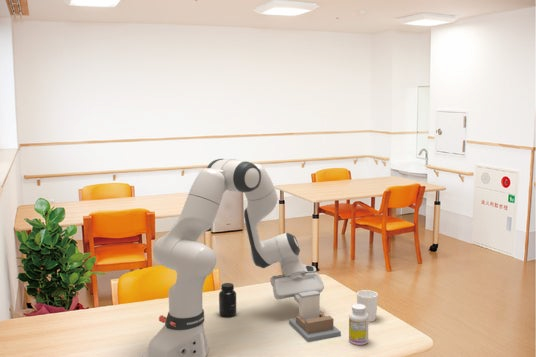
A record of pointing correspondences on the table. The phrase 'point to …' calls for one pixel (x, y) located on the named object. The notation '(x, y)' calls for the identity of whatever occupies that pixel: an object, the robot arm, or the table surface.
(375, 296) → the white cup
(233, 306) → the supplement bottle
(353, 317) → the supplement bottle
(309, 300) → the push key
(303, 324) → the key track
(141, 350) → the table surface
